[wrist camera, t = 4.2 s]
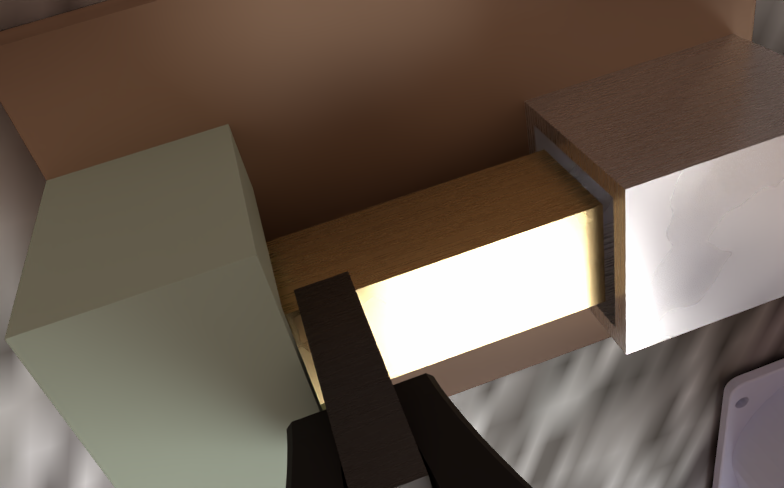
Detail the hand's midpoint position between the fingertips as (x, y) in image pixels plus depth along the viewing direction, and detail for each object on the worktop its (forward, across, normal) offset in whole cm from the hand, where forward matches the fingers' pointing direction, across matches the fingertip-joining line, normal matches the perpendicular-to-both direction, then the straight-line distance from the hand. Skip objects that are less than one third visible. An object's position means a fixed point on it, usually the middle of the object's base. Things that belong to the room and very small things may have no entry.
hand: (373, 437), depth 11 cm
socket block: (+5, +2, 0) cm, 6 cm away
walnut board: (+6, -3, 0) cm, 7 cm away
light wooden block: (+5, -1, 0) cm, 5 cm away
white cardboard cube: (+5, -8, 0) cm, 9 cm away
